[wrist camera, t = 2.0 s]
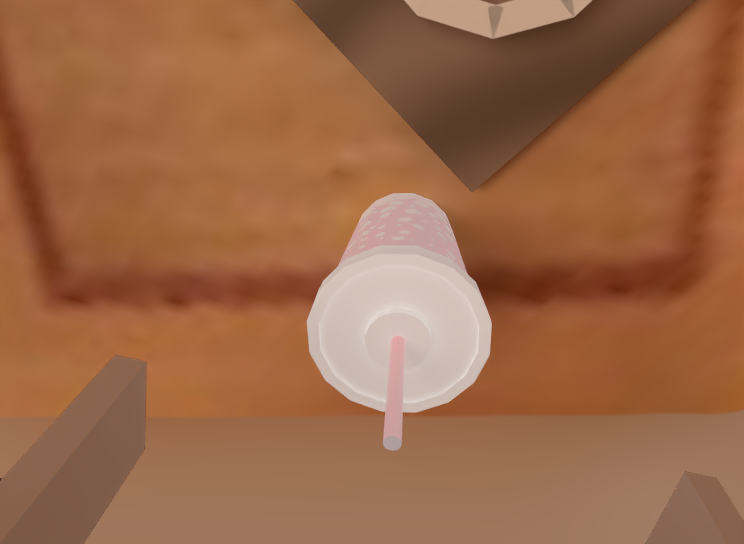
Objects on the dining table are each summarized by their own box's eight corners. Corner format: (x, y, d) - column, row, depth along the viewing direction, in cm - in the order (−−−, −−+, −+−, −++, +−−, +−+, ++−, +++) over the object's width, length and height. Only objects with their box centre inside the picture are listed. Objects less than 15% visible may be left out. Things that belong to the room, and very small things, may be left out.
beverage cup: (421, 318, 29) (424, 564, 16) (315, 255, 28) (229, 464, 15) (496, 222, 26) (570, 420, 14) (384, 149, 25) (351, 290, 13)
